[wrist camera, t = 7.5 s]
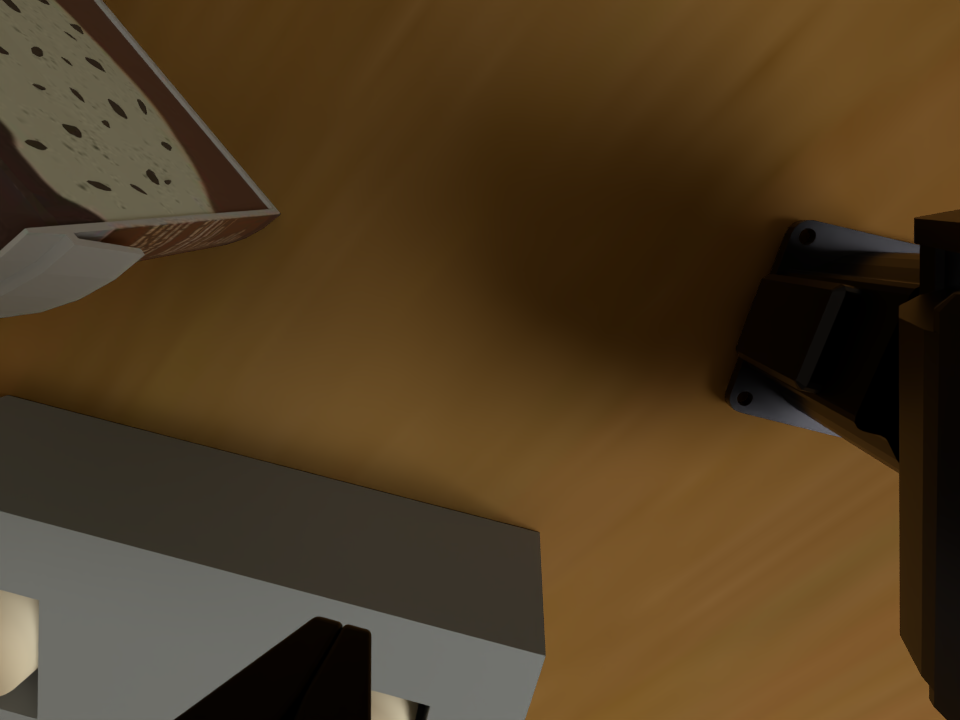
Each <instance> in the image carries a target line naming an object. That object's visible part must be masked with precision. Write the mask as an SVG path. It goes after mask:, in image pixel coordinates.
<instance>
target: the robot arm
mask: <svg viewBox="0 0 960 720" xmlns="http://www.w3.org/2000/svg"><path fill="white" fill-rule="evenodd" d="M804 229H806V230H807V231H808V233H809V239H808V240H807V242H806V243H804V244H802V243H801V242H800V240H799V235H800V233H801V232H802V231H803V230H804ZM914 243H915V244H920V245H915V244H911V243H907V242H903V241H899V240H894V239H890V238H886V237H882V236H877V235H873V234H869V233H865V232H860V231H856V230H852V229H848V228H844V227H839V226H835V225H831V224H827V223H822V222H818V221H814V220H804V221H798V222H795V223H793V224H792V225H791V226H790V227H789V228H788V230H787V231H786V233H785V235H784V238H783V241H782V243H781V246H780V249H779V251H778V254H777V257H776V259H775V262H774V265H773V267H772V270H771V273H770V275H768V276H766V277H765V278H763V279H762V280H761V282H760V285H759V287H758V290H757V293H756V295H755V298H754V301H753V303H752V306H751V309H750V311H749V314H748V317H747V319H746V322H745V325H744V328H743V330H742V333H741V336H740V338H739V341H738V344H737V346H736V351H737V353H738V355H739V358H738V361H737V363H736V366H735V369H734V371H733V374H732V377H731V379H730V382H729V385H728V387H727V390H726V394H725V399H726V402H727V403H728V404H729V406H731V407H732V408H733V409H734V410H736V411H738V412H741V413H745V414H749V415H753V416H757V417H761V418H765V419H769V420H773V421H777V422H781V423H785V424H789V425H793V426H797V427H801V428H805V429H809V430H813V431H817V432H821V433H825V434H830V435H834V436H838V437H842V438H844V439H845V440H847V441H848V442H850V443H852V444H853V445H855V446H856V447H858V448H860V449H861V450H863V451H864V452H866V453H867V454H869V455H871V456H872V457H874V458H875V459H877V460H879V461H880V462H882V463H883V464H885V465H887V466H888V467H890V468H891V469H893V470H895V471H896V472H898V473H899V514H900V636H901V638H902V640H903V642H904V643H905V645H906V647H907V649H908V651H909V653H910V655H911V657H912V659H913V661H914V663H915V664H916V666H917V668H918V670H919V672H920V674H921V676H922V677H923V678H924V680H925V681H926V682H927V683H928V684H929V699H930V701H931V703H932V704H933V706H934V707H935V708H936V709H937V710H938V711H939V712H940V713H941V714H942V715H943V716H944V717H945V718H946V719H947V720H960V210H954V211H948V212H943V213H937V214H932V215H926V216H920V217H916V218H914ZM742 392H747V393H748V395H747V398H746V400H744V401H742V402H737V397H738V395H739V394H740V393H742ZM371 649H372V637H371V632H370V631H369V630H368V629H364V628H361V627H357V626H354V625H350V624H347V625H345V626H343V625H342V624H341V622H339V621H336V620H332V619H328V618H325V617H321V616H317V617H314V618H312V619H311V620H309V621H308V622H307V623H305V624H304V625H303V626H301V627H300V628H299V629H297V630H296V631H294V632H293V633H292V634H290V635H289V636H288V637H286V638H285V639H283V640H282V641H281V642H279V643H278V644H277V645H275V646H274V647H273V648H271V649H270V650H268V651H267V652H266V653H264V654H263V655H262V656H260V657H259V658H257V659H256V660H255V661H253V662H252V663H251V664H249V665H248V666H247V667H245V668H244V669H242V670H241V671H240V672H238V673H237V674H236V675H234V676H233V677H231V678H230V679H229V680H227V681H226V682H225V683H223V684H222V685H221V686H219V687H218V688H216V689H215V690H214V691H212V692H211V693H210V694H208V695H207V696H205V697H204V698H203V699H201V700H200V701H199V702H197V703H196V704H195V705H193V706H192V707H190V708H189V709H188V710H186V711H185V712H184V713H182V714H181V715H180V716H178V717H177V718H175V719H174V720H371Z"/></svg>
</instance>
